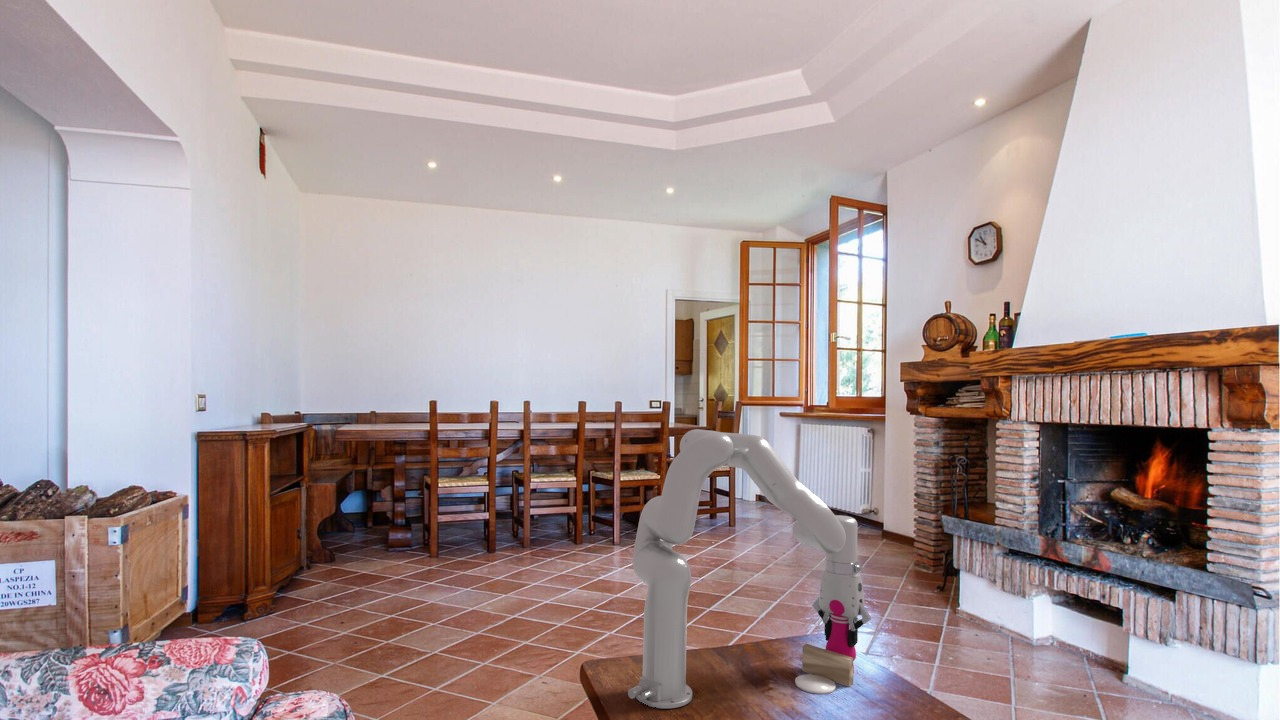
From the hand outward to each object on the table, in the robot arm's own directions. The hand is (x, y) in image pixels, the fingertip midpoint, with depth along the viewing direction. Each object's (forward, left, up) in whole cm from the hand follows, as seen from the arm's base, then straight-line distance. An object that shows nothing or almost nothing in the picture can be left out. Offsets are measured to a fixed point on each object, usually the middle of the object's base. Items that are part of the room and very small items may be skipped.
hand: (840, 641), depth 159 cm
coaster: (-12, +1, -7) cm, 14 cm away
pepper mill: (0, 0, -7) cm, 7 cm away
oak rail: (-6, +1, -7) cm, 9 cm away
